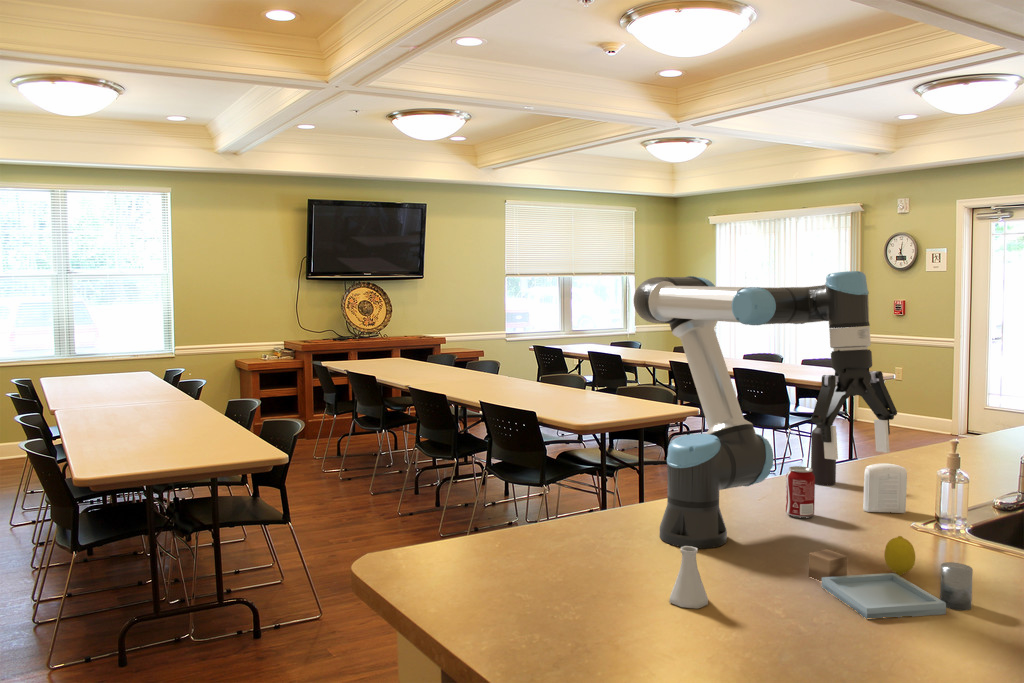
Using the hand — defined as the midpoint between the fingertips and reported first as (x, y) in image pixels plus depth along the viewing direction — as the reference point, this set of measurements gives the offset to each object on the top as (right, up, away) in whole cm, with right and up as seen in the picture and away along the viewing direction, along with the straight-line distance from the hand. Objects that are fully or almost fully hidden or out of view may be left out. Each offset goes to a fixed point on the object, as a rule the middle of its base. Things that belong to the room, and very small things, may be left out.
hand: (857, 455), depth 159 cm
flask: (-36, -25, -12) cm, 46 cm away
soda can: (+4, -21, +42) cm, 47 cm away
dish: (-1, -25, -12) cm, 28 cm away
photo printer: (+27, -21, +45) cm, 56 cm away
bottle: (+22, -19, +75) cm, 80 cm away
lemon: (+8, -24, 0) cm, 26 cm away
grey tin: (+12, -25, -14) cm, 31 cm away
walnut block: (-6, -24, -1) cm, 25 cm away
